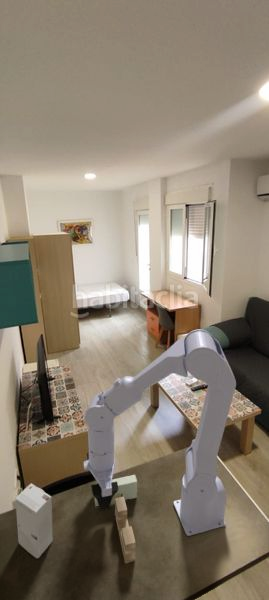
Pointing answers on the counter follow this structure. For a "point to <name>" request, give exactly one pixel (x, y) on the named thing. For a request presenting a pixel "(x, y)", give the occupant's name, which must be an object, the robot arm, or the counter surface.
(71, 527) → the counter surface
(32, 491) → the skincare box
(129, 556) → the wooden notched block
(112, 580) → the counter surface
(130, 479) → the slotted plate
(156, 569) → the counter surface
